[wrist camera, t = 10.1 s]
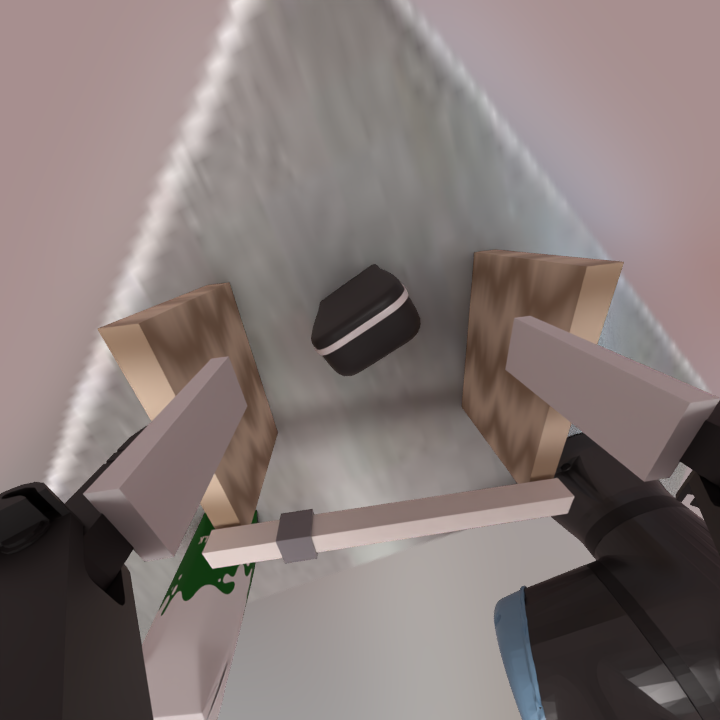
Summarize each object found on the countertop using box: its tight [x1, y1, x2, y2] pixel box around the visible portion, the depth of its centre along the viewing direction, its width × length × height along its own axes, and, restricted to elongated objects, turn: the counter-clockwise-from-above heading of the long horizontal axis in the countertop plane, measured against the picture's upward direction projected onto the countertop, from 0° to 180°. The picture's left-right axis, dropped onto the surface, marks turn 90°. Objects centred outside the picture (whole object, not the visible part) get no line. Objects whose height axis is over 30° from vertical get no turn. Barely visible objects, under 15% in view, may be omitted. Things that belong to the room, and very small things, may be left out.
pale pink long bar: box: [202, 478, 574, 569], centre depth 20 cm, size 3×27×2 cm, turn 96°
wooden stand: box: [98, 250, 624, 530], centre depth 23 cm, size 18×27×12 cm, turn 96°
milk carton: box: [142, 510, 258, 720], centre depth 30 cm, size 9×9×20 cm
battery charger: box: [311, 264, 420, 376], centre depth 20 cm, size 7×4×11 cm, turn 124°
